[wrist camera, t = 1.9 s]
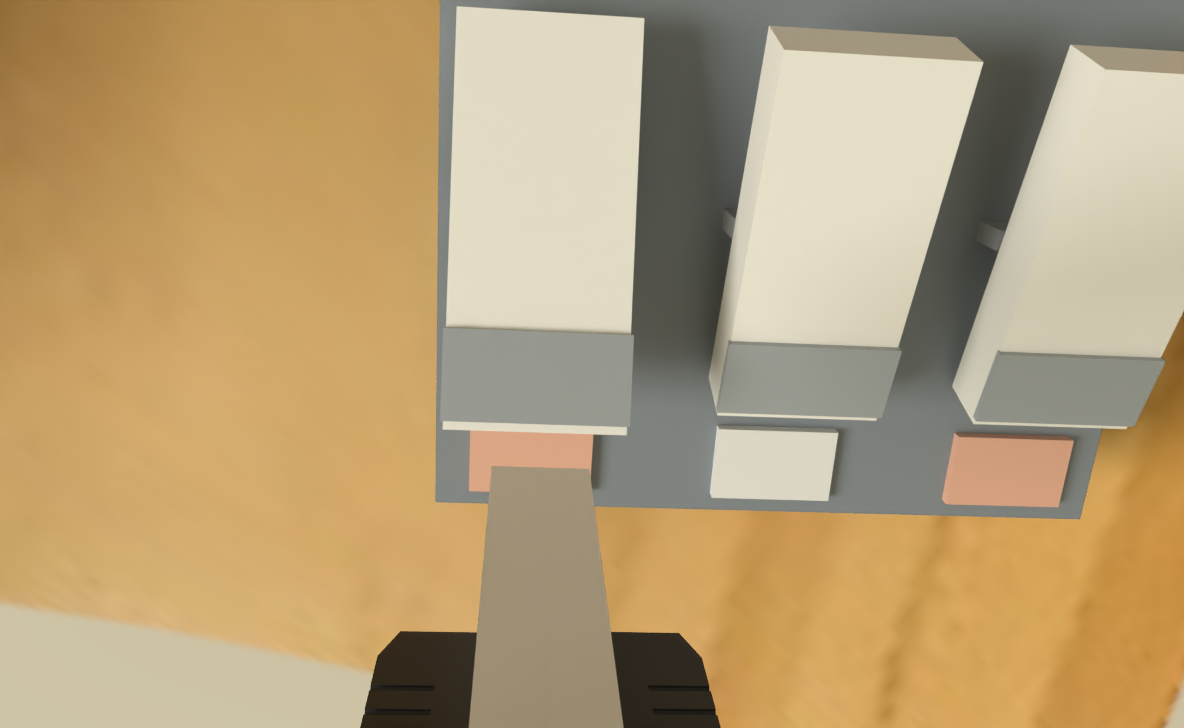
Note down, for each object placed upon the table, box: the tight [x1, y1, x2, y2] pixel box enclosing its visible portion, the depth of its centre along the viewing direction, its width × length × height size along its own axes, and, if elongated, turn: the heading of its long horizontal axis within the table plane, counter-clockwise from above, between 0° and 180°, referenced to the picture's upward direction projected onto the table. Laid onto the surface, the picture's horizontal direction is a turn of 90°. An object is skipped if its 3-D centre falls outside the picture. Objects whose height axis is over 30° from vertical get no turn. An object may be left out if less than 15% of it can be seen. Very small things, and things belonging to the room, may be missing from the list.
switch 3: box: [952, 44, 1184, 429], centre depth 23 cm, size 9×4×2 cm, turn 176°
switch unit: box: [436, 0, 1184, 519], centre depth 27 cm, size 16×18×6 cm
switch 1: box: [440, 6, 644, 435], centre depth 22 cm, size 9×4×2 cm, turn 177°
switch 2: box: [709, 26, 983, 421], centre depth 23 cm, size 9×4×2 cm, turn 176°
